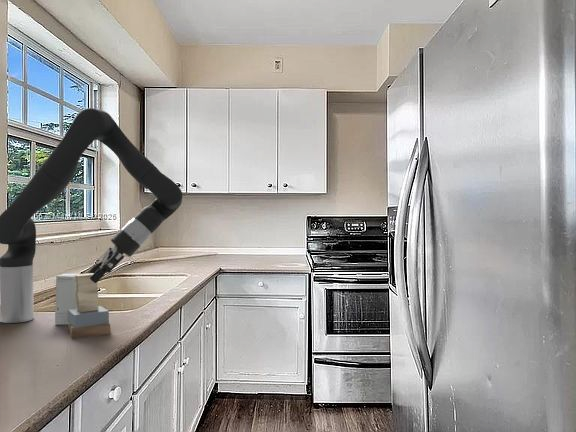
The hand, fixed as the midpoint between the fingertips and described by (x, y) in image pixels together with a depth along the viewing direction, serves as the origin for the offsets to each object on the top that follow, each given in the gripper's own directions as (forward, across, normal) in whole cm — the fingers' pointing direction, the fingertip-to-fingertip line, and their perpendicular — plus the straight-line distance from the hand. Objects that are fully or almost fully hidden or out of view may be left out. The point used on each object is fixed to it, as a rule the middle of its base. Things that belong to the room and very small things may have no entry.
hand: (90, 278), depth 145 cm
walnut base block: (+12, 0, +11) cm, 16 cm away
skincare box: (+14, -15, +8) cm, 22 cm away
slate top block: (+9, 0, +8) cm, 12 cm away
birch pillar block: (+7, 0, +6) cm, 9 cm away
